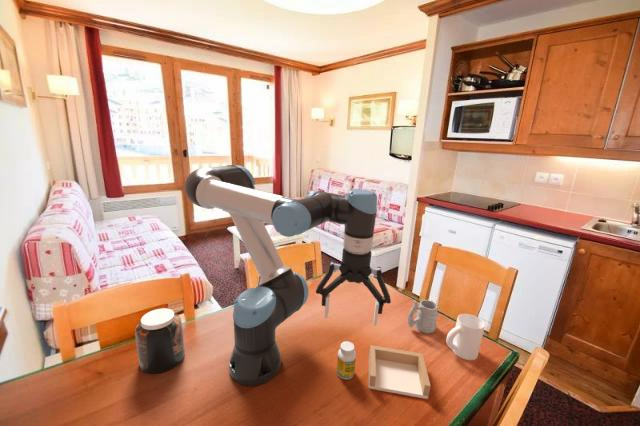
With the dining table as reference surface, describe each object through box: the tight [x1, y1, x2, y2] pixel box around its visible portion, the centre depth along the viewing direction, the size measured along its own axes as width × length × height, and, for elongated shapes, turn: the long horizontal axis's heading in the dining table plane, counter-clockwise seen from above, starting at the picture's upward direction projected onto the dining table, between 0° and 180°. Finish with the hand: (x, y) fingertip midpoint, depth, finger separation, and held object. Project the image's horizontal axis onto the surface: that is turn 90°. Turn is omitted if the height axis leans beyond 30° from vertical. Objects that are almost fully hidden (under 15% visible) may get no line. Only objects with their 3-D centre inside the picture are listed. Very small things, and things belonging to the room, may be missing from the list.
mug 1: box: [407, 299, 439, 334], centre depth 105 cm, size 8×12×12 cm, turn 105°
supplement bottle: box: [336, 340, 357, 380], centre depth 83 cm, size 5×5×10 cm
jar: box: [134, 307, 185, 375], centre depth 84 cm, size 12×12×15 cm
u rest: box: [368, 344, 431, 400], centre depth 83 cm, size 16×12×4 cm
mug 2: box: [445, 313, 486, 361], centre depth 93 cm, size 8×12×12 cm
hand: (350, 319), depth 80 cm, fingers open, 13 cm apart
